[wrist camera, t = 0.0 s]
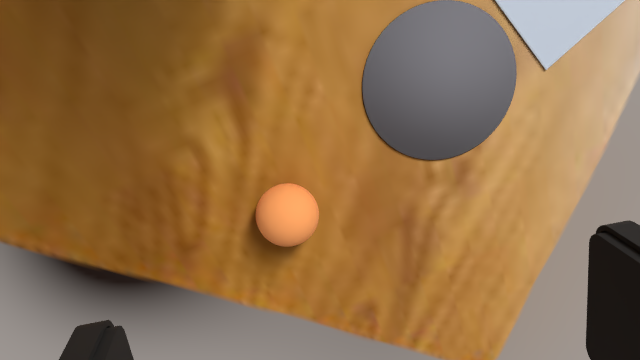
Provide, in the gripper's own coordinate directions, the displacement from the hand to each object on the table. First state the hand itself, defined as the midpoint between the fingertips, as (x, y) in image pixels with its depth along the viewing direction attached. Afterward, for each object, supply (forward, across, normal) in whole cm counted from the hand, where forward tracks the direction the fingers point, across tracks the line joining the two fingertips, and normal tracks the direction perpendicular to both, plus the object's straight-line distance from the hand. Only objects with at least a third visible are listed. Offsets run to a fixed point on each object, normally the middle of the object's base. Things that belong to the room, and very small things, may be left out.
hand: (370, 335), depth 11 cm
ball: (+34, +1, +12) cm, 36 cm away
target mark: (+37, -14, +3) cm, 40 cm away
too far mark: (+37, -25, -3) cm, 45 cm away
